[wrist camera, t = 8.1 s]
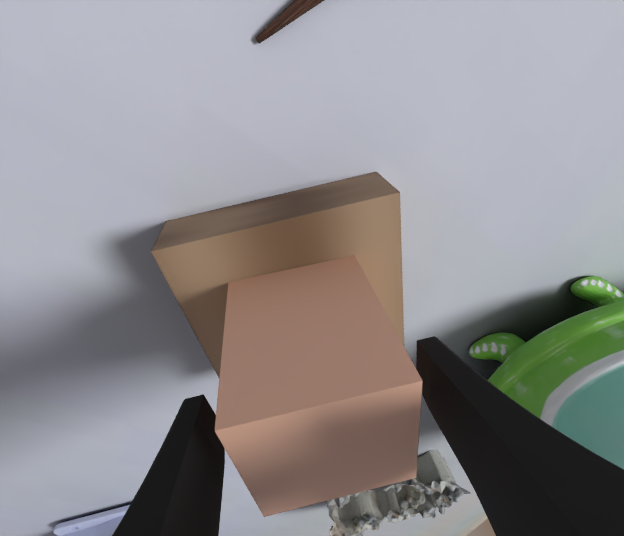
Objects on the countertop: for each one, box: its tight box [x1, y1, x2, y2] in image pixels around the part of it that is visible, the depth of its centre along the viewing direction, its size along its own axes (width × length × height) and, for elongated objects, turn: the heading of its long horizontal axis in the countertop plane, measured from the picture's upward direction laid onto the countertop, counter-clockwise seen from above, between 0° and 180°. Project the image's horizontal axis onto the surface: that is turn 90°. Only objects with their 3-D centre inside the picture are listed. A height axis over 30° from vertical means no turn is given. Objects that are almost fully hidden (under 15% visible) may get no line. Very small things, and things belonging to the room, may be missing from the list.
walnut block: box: [151, 172, 404, 378], centre depth 15 cm, size 9×9×3 cm
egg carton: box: [327, 450, 470, 536], centre depth 27 cm, size 11×8×4 cm
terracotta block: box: [215, 255, 423, 517], centre depth 11 cm, size 5×5×6 cm
